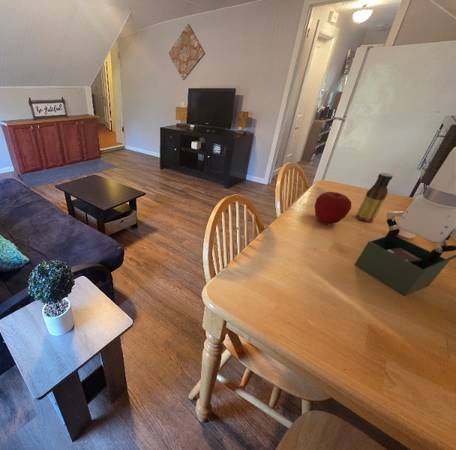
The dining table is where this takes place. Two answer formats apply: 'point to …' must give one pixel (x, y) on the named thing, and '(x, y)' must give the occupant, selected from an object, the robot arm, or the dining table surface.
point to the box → (406, 256)
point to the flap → (442, 261)
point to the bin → (398, 265)
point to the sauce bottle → (374, 198)
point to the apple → (332, 207)
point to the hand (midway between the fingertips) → (407, 250)
